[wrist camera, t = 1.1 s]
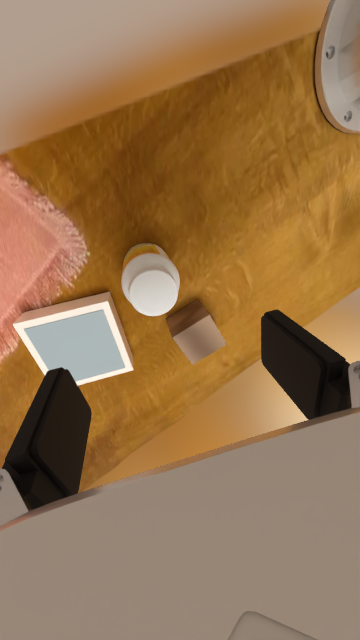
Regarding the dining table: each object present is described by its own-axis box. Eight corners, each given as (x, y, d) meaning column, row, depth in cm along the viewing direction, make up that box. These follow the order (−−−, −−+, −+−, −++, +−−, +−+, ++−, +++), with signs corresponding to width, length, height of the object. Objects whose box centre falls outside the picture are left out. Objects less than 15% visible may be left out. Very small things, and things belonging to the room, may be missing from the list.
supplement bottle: (177, 256, 27) (199, 281, 19) (155, 294, 28) (166, 333, 20) (136, 232, 25) (140, 247, 16) (114, 274, 26) (108, 308, 18)
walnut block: (197, 298, 30) (209, 314, 26) (213, 325, 32) (226, 344, 28) (165, 318, 30) (172, 337, 26) (183, 343, 33) (192, 364, 28)
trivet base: (109, 291, 27) (107, 301, 24) (132, 356, 32) (133, 370, 29) (23, 312, 26) (11, 325, 23) (61, 375, 31) (54, 392, 28)
